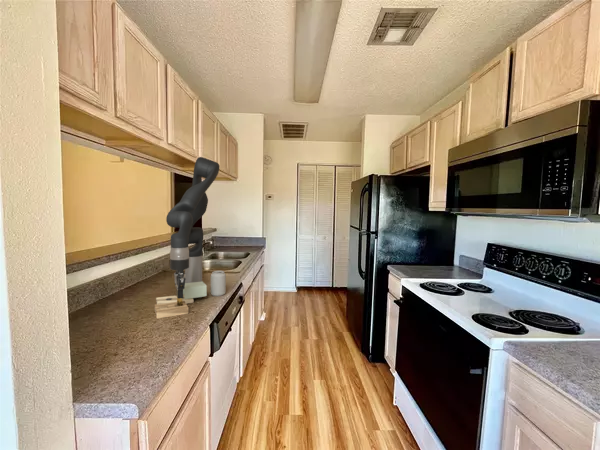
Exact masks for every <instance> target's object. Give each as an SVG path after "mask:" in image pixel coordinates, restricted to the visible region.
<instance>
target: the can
mask: <svg viewBox="0 0 600 450" xmlns="http://www.w3.org/2000/svg"><path fill="white" fill-rule="evenodd" d="M226 275H227V274H226V273H225V271H223V270H214V271H212V272H211V274H210V294H211V295H212V296H213V297H221V296H223V295H225V294H226V292H227V290H226V289H227V288H226V287H227V285H226V284H227V283H226V279H227V278H226V277H227V276H226Z"/></svg>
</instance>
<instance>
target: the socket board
mask: <svg viewBox="0 0 600 450" xmlns="http://www.w3.org/2000/svg"><path fill="white" fill-rule="evenodd" d="M154 312H155V317H156V319H158V320H159V319H164V318H168V317H169V318H170V317H175V316H180V315H188V314H189V306H188V303H187V304H186V303H185V301H183V305H181V306H177V302H171V303H164V304H157V303H156V304H154Z"/></svg>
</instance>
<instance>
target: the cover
mask: <svg viewBox="0 0 600 450" xmlns="http://www.w3.org/2000/svg"><path fill="white" fill-rule="evenodd" d="M207 288H208V286H207V284H206V283H205V282H204V281H203V280H202V282H193V283H185V288H184V289H183V294H184V299H189V298H193V299H197V298H202V297H207V296H208V295H207Z"/></svg>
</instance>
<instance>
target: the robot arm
mask: <svg viewBox="0 0 600 450" xmlns="http://www.w3.org/2000/svg"><path fill="white" fill-rule="evenodd" d="M219 172H220V164H219V163H218V162H217V161H214V160H211V159H208V158H206V157H203V156H199V157H197V158H196V161H195V163H194V167H193V175H192V185H191V187H189V188H188V189H187V190H186V191H185V192H184V194H183V195H182V197H181V199H180V201H179V202H177V203H176V204H175V205H174V206H173V207H172V208H171V209H170V210H169V212H167V215H166V218H165V221H166V224H167V226H169V227H171V228H179V229H178V232H175V233H173V234H172V233H171V235H170V250H169V268H170V270H172V271H175V272H173V275H174V285H175V288H176V289H175V290H176V293H175V294H176V296H177V298H178V299H179V298H183V289H184V288H185V283H193V282H202V281H203V246H204V230H203V229H202V227H194V225H195V224H196V223H197V222H198V220H200V219H201V218H202V217H203V216H204V215H205V213H206V211H207V208H208V203H209V198H208V195H207V191H208V189H209V188H210V187H211V185H212V184H213V183H214V181H215V180H216V179H217V177H218V175H219ZM203 178H204V179H203ZM202 179H203V180H202ZM193 244H194V245H193ZM189 245H193V246H192V247H191V248H189Z"/></svg>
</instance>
